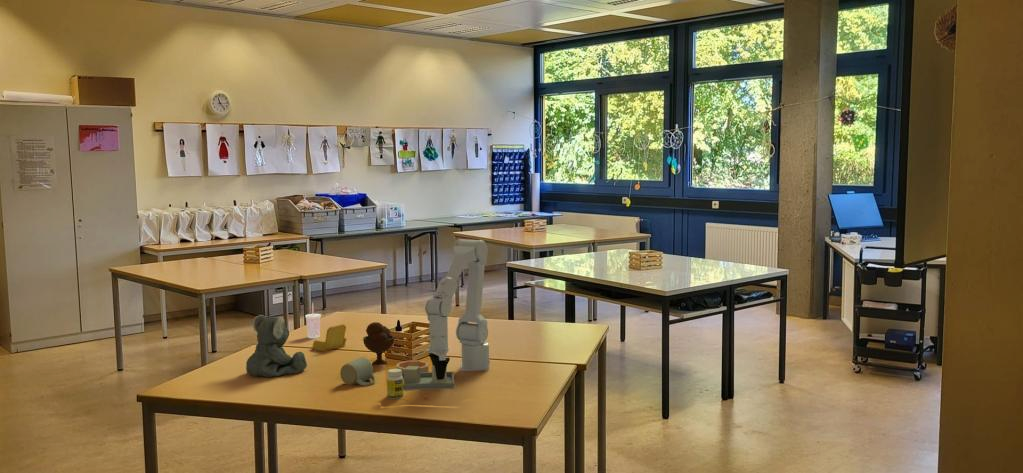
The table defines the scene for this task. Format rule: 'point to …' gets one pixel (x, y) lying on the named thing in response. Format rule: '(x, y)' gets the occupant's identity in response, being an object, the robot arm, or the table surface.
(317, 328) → the beverage cup
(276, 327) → the koala plush
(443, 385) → the parts tray
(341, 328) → the yellow bent piece
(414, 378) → the beige square block
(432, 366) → the sage green cube
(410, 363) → the bowl
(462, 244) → the robot arm
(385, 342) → the ice cream bowl
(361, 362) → the ceramic mug
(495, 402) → the table surface
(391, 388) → the supplement bottle
